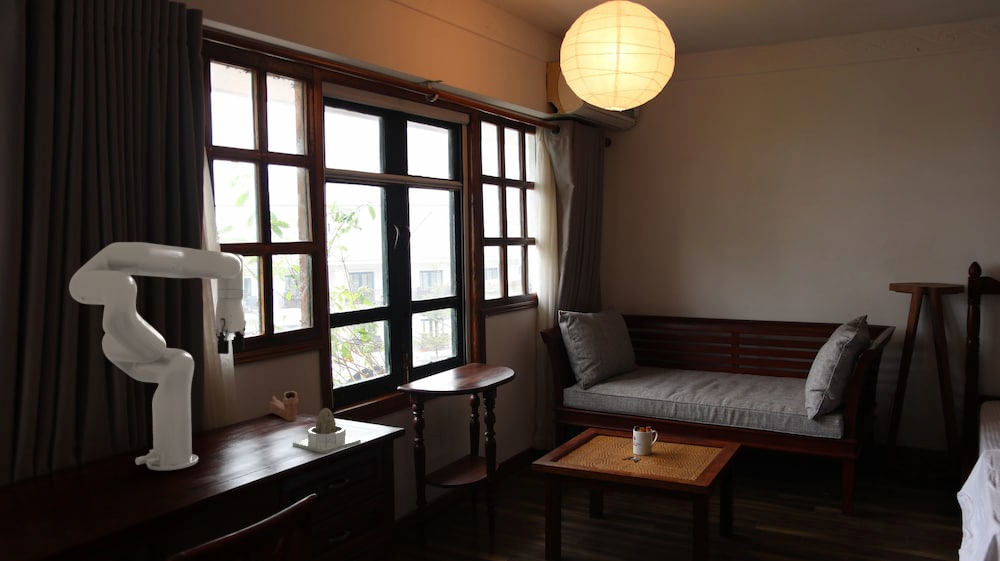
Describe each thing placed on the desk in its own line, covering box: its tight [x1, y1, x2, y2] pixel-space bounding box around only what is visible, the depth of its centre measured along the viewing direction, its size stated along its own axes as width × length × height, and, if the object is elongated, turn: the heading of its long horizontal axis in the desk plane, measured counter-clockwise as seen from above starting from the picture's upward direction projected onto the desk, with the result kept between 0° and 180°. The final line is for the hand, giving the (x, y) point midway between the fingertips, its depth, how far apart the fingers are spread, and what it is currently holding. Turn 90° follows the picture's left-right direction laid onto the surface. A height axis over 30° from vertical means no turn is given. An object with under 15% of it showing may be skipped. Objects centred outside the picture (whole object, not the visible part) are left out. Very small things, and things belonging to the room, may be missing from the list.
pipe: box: [269, 390, 299, 422], centre depth 247 cm, size 5×18×10 cm, turn 40°
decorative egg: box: [315, 407, 337, 434], centre depth 214 cm, size 6×6×10 cm
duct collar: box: [292, 424, 362, 454], centre depth 214 cm, size 14×14×4 cm
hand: (231, 351), depth 216 cm, fingers open, 9 cm apart
